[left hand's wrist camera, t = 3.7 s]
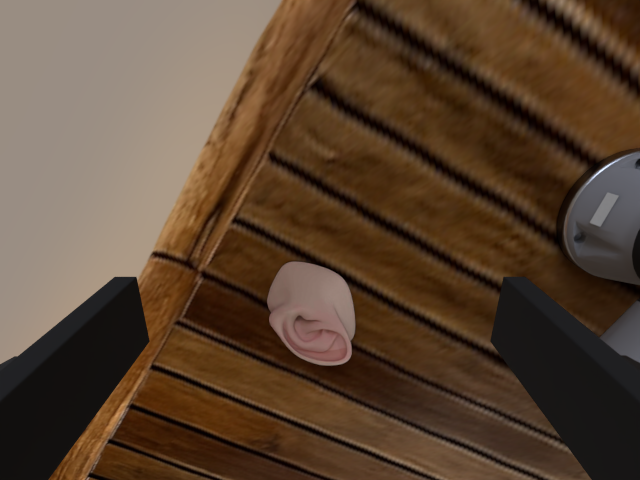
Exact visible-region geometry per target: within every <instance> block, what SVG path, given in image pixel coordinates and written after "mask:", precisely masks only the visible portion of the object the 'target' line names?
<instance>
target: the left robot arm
mask: <svg viewBox="0 0 640 480" xmlns="http://www.w3.org/2000/svg"><path fill="white" fill-rule="evenodd" d="M557 235H558V240H559V244H560V246H561V249H562V251H563V252H564V254H565V255H566V257H567V258H568V259H569V260H570V261H571V262H572V263H574V264H575V265H577V266H578V267H580V268H582V269H583V270H585V271H586V272H588V273H590V274H592V275H595V276H598V277H602V278H606V279H611V280H616V281H621V282H626V283H632V284H637V285H640V148H637V149H630V150H626V151H622V152H619V153H617V154H614V155H612V156H610V157H607V158H606V159H604V160H602V161H600V162H599V163H597V164H596V165H594V166H593V167H592V168H590V169H589V170H588V171H587V172H586V173H584V174H583V175H582V176H581V177H580V178H579V179H578V181H577V182H576V183H575V184H574V185H573V187H572V188H571V190H570V191H569V193H568V194H567V196H566V198H565V200H564V202H563V204H562V207H561V209H560V213H559V217H558V223H557ZM148 343H149V336H148V331H147V327H146V322H145V317H144V312H143V307H142V302H141V297H140V292H139V288H138V283H137V278H136V277H114V278H113V279H112V280H111V281H109V282H108V283H107V284H106V285H104V286H103V287H102V288H101V289H100V290H98V291H97V292H96V293H95V294H93V295H92V296H91V297H90V298H89V299H87V300H86V301H85V302H84V303H83V304H81V305H80V306H79V307H78V308H76V309H75V310H74V311H73V312H72V313H70V314H69V315H68V316H67V317H65V318H64V319H63V320H62V321H61V322H59V323H58V324H57V325H56V326H55V327H53V328H52V329H51V330H50V331H48V332H47V333H46V334H45V335H44V336H42V337H41V338H40V339H39V340H37V341H36V342H35V343H34V344H32V345H31V346H30V347H29V348H28V349H26V350H25V351H24V352H23V353H22V354H20V355H19V356H18V357H13V358H11V359H9V360H7V361H6V362H4V363H2V364H0V480H48V479H49V478H50V476H51V475H52V474H53V472H54V471H55V470H56V468H57V467H58V466H59V464H60V463H61V461H62V460H63V459H64V457H65V456H66V455H67V453H68V452H69V451H70V449H71V448H72V446H73V445H74V444H75V442H76V441H77V440H78V438H79V437H80V436H81V434H82V433H83V431H84V430H85V429H86V427H87V426H88V425H89V423H90V422H91V421H92V419H93V418H94V416H95V415H96V414H97V412H98V411H99V410H100V408H101V407H102V406H103V404H104V403H105V401H106V400H107V399H108V397H109V396H110V395H111V393H112V392H113V390H114V389H115V388H116V386H117V385H118V384H119V382H120V381H121V380H122V378H123V377H124V375H125V374H126V373H127V371H128V370H129V369H130V367H131V366H132V365H133V363H134V362H135V360H136V359H137V358H138V356H139V355H140V354H141V352H142V351H143V350H144V348H145V347H146V345H147V344H148ZM491 343H492V344H493V345H494V347H495V348H496V350H497V351H498V352H499V354H500V355H501V356H502V358H503V359H504V360H505V362H506V363H507V365H508V366H509V367H510V369H511V370H512V371H513V373H514V374H515V375H516V377H517V378H518V380H519V381H520V382H521V384H522V385H523V386H524V388H525V389H526V390H527V392H528V393H529V395H530V396H531V397H532V399H533V400H534V401H535V403H536V404H537V406H538V407H539V408H540V410H541V411H542V412H543V414H544V415H545V416H546V418H547V419H548V421H549V422H550V423H551V425H552V426H553V427H554V429H555V430H556V431H557V433H558V434H559V436H560V437H561V438H562V440H563V441H564V442H565V444H566V445H567V446H568V448H569V449H570V451H571V452H572V453H573V455H574V456H575V457H576V459H577V460H578V461H579V463H580V464H581V466H582V467H583V468H584V470H585V471H586V472H587V474H588V475H589V476H590V478H591V479H592V480H640V298H639V299H638V300H636V301H635V302H634V303H633V304H632V305H631V306H630V307H629V308H628V309H627V310H626V311H625V312H624V313H623V314H622V315H621V316H620V317H619V318H618V319H617V320H616V321H615V322H614V323H613V324H612V325H611V326H610V327H609V328H608V329H607V330H606V331H605V332H604V333H603V334H602V335H601V336H600V337H598V336H597V335H595V334H594V333H593V332H592V331H590V330H589V329H588V328H587V327H586V326H584V325H583V324H582V323H581V322H579V321H578V320H577V319H576V318H575V317H573V316H572V315H571V314H570V313H568V312H567V311H566V310H565V309H564V308H562V307H561V306H560V305H559V304H557V303H556V302H555V301H554V300H553V299H551V298H550V297H549V296H548V295H547V294H545V293H544V292H543V291H542V290H540V289H539V288H538V287H537V286H536V285H534V284H533V283H532V282H531V281H529V280H528V279H527V278H526V277H504V278H503V283H502V288H501V292H500V297H499V302H498V307H497V312H496V317H495V322H494V327H493V331H492V336H491Z"/></svg>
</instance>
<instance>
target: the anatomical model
mask: <svg viewBox="0 0 640 480" xmlns="http://www.w3.org/2000/svg"><path fill="white" fill-rule="evenodd" d="M267 304H268V307H269V310H270V311H271V314H270V317H269V322H270V324H271V326H272V328H273V329H274V330H275V331H276V333H277V334H278V335H279V337H280V338H281V340H282V341H283V342H284V344H285V345H286V346H287V347H288V348H289V349H290V350H291V351H292V352H293V353H294V354H295V355H297V356H298V357H300V358H302V359H304V360H306V361H308V362H311V363H315V364H319V365H339V364H343V363H345V362H347V361H348V360H349V359H350V357H351V354H352V346H351V342H350V341H351V340H352V338H353V336H354V333H355V314H354V307H353V301H352V297H351V293H350V290H349V287H348V285H347V283H346V282H345V280H344V279H343V278H342V277H341V276H339V275H338V274H337V273H335V272H333V271H331V270H329V269H327V268H324V267H321V266H318V265H314V264H310V263H305V262H289V263H286V264H285V265H283V266H282V268H281V269H280V270H279V272H278V273H277V275H276V277H275V279H274V281H273V283H272V285H271V288H270V291H269V295H268V299H267Z"/></svg>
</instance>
